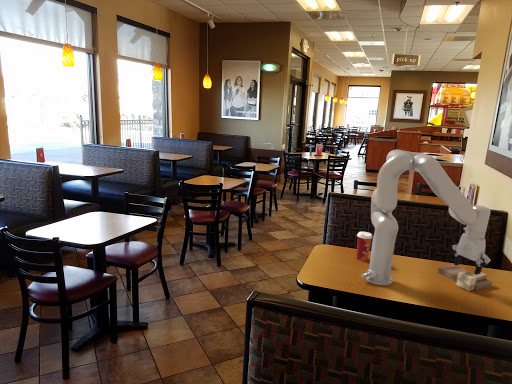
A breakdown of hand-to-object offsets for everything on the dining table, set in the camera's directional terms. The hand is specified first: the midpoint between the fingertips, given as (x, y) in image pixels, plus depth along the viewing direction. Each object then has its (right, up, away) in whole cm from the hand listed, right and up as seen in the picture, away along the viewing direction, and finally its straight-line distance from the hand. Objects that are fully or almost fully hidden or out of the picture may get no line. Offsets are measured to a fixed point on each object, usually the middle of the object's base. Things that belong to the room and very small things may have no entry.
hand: (466, 269), depth 166 cm
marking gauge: (+5, -8, +4) cm, 11 cm away
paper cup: (-39, -1, +29) cm, 49 cm away
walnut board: (+5, -7, +11) cm, 14 cm away
